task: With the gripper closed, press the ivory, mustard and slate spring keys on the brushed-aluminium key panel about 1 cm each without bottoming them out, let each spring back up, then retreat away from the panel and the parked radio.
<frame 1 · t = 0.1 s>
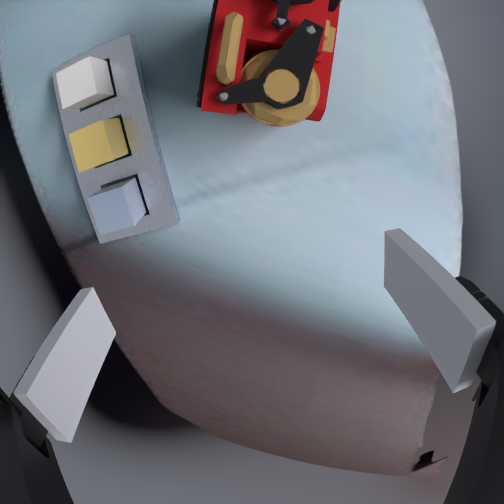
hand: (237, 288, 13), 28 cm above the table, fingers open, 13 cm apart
mustard key: (99, 143, 31), point 4 cm above the table, slide at 0.1 cm
ivory key: (85, 83, 28), point 4 cm above the table, slide at 0.1 cm
key panel: (113, 140, 35), on the table
slate key: (117, 205, 35), point 4 cm above the table, slide at 0.1 cm
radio: (263, 61, 32), on the table
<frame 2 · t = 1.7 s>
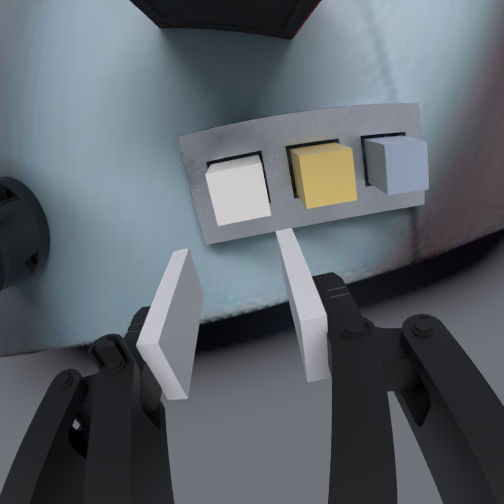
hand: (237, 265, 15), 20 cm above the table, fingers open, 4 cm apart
mustard key: (322, 173, 28), point 4 cm above the table, slide at 0.1 cm
ivory key: (239, 188, 28), point 4 cm above the table, slide at 0.1 cm
key panel: (312, 165, 32), on the table
slate key: (396, 162, 27), point 4 cm above the table, slide at 0.1 cm
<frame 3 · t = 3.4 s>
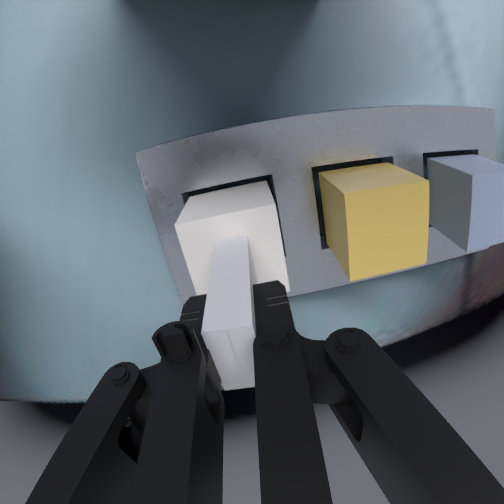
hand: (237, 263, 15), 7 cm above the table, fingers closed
mustard key: (372, 215, 17), point 4 cm above the table, slide at 0.1 cm
ivory key: (235, 239, 17), point 4 cm above the table, slide at 0.4 cm, touching gripper
key panel: (348, 194, 21), on the table
slate key: (472, 197, 16), point 4 cm above the table, slide at 0.1 cm
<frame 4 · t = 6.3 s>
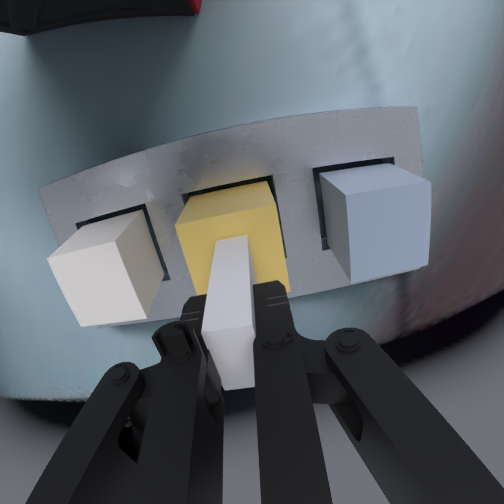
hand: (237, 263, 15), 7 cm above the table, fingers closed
mustard key: (235, 239, 17), point 4 cm above the table, slide at 0.5 cm, touching gripper
ivory key: (109, 267, 18), point 4 cm above the table, slide at 0.3 cm
key panel: (236, 216, 21), on the table
slate key: (373, 216, 17), point 4 cm above the table, slide at 0.1 cm
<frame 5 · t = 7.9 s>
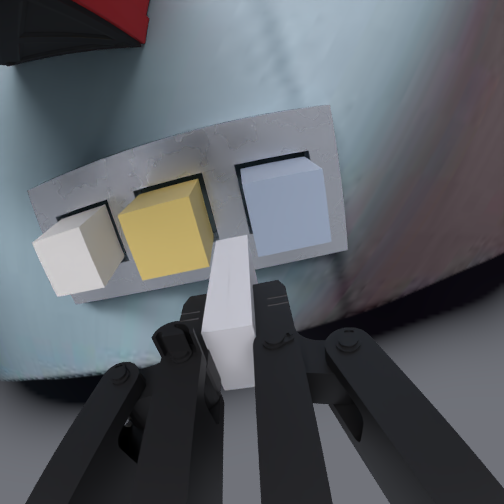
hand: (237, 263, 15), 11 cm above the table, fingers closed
mustard key: (170, 226, 21), point 4 cm above the table, slide at 0.1 cm
ivory key: (80, 250, 21), point 4 cm above the table, slide at 0.3 cm
key panel: (180, 208, 25), on the table
slate key: (283, 202, 21), point 4 cm above the table, slide at 0.1 cm
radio: (77, 7, 16), on the table
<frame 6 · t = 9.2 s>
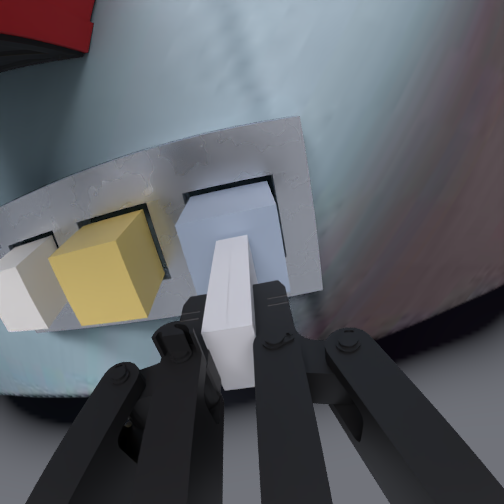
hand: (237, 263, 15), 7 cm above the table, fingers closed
mustard key: (110, 267, 18), point 4 cm above the table, slide at 0.1 cm
ivory key: (27, 284, 18), point 4 cm above the table, slide at 0.3 cm
key panel: (131, 238, 22), on the table
slate key: (236, 240, 17), point 4 cm above the table, slide at 0.3 cm, touching gripper
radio: (26, 16, 13), on the table
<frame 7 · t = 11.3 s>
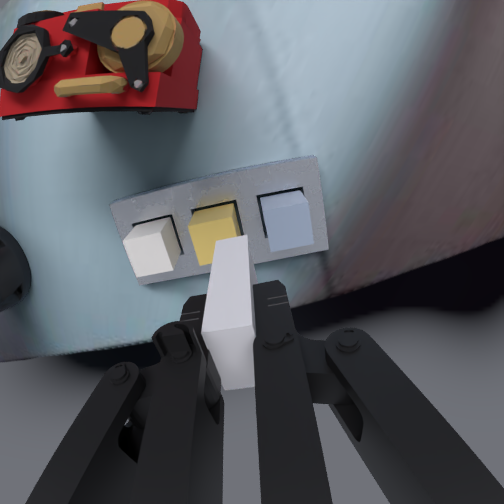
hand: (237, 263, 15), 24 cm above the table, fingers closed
mustard key: (216, 233, 35), point 4 cm above the table, slide at 0.1 cm
ivory key: (153, 246, 36), point 4 cm above the table, slide at 0.3 cm
key panel: (219, 220, 39), on the table
slate key: (286, 219, 35), point 4 cm above the table, slide at 0.1 cm
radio: (142, 72, 31), on the table
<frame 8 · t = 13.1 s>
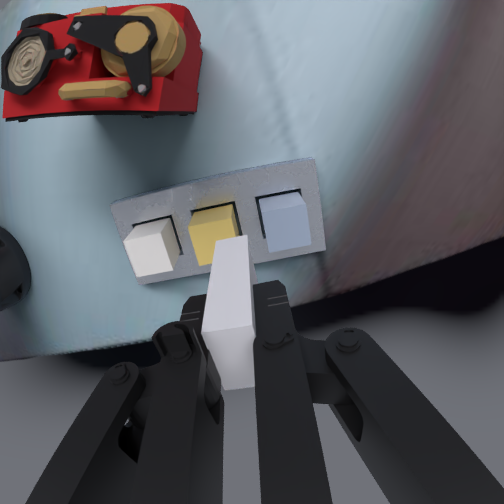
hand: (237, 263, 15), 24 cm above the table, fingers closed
mustard key: (216, 234, 36), point 4 cm above the table, slide at 0.1 cm
ivory key: (153, 246, 36), point 4 cm above the table, slide at 0.3 cm
key panel: (218, 221, 40), on the table
slate key: (284, 220, 35), point 4 cm above the table, slide at 0.1 cm
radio: (143, 74, 31), on the table
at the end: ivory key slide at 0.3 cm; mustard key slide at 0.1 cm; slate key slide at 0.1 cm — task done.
